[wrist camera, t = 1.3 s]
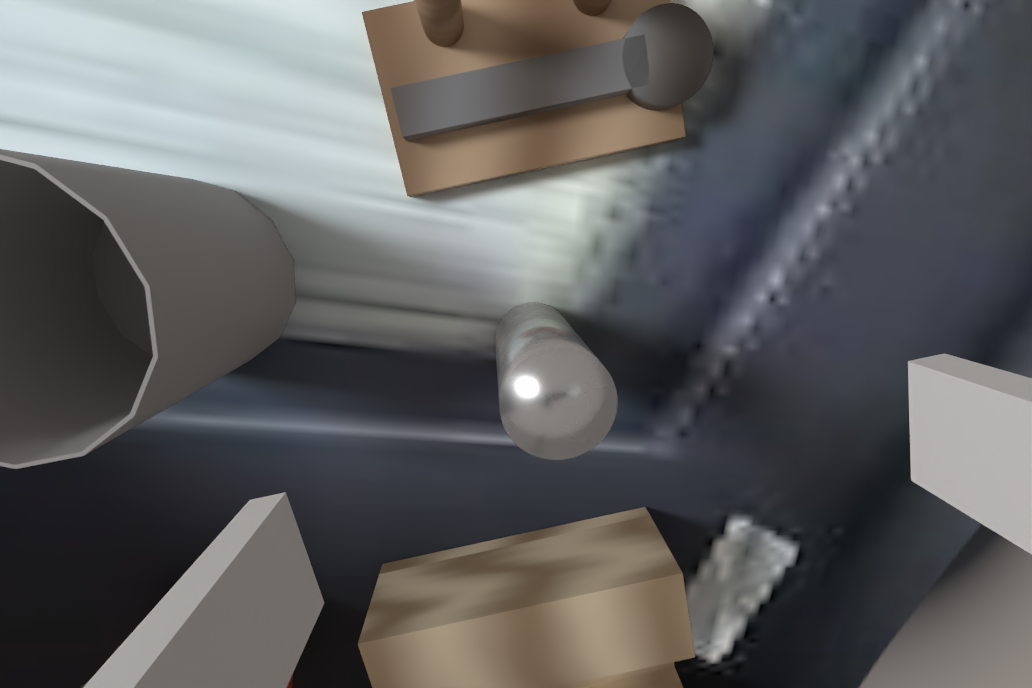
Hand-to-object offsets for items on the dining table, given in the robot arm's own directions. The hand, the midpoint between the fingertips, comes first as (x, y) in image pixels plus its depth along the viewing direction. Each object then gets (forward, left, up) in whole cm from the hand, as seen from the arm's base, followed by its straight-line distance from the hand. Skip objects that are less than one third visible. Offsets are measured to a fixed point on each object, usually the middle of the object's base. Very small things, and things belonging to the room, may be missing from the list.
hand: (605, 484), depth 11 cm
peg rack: (+2, +11, -14) cm, 18 cm away
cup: (-14, +6, -14) cm, 21 cm away
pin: (0, 0, -14) cm, 14 cm away
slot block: (-3, -17, -14) cm, 22 cm away
